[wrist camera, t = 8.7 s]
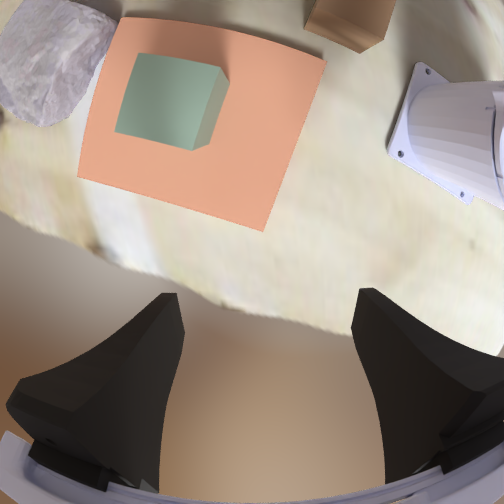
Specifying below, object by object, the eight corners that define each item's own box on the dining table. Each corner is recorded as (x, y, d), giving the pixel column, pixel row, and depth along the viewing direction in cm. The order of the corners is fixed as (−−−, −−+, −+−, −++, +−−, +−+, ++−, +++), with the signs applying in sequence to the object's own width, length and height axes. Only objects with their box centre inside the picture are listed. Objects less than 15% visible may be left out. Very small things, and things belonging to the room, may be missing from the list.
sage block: (230, 83, 14) (220, 67, 10) (209, 144, 16) (191, 151, 11) (169, 69, 14) (138, 52, 9) (150, 128, 15) (114, 132, 11)
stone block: (81, 130, 18) (135, 16, 12) (39, 146, 14) (93, 7, 8) (13, 84, 15) (50, -8, 10) (-23, 95, 11) (12, -10, 6)
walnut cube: (373, 13, 12) (397, -5, 9) (359, 53, 14) (383, 39, 10) (320, -11, 12) (334, -36, 8) (303, 29, 13) (315, 7, 10)
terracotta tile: (324, 64, 14) (327, 61, 14) (262, 227, 19) (262, 231, 18) (126, 20, 12) (121, 17, 12) (82, 174, 17) (77, 176, 17)
